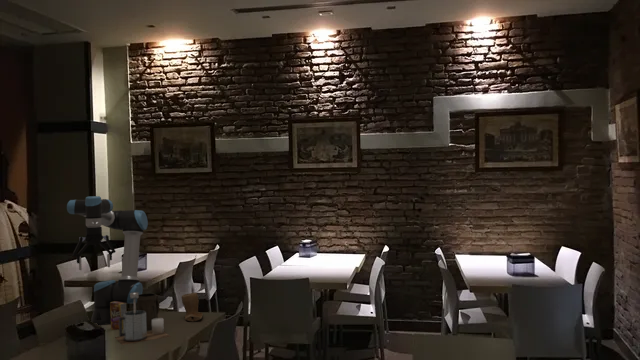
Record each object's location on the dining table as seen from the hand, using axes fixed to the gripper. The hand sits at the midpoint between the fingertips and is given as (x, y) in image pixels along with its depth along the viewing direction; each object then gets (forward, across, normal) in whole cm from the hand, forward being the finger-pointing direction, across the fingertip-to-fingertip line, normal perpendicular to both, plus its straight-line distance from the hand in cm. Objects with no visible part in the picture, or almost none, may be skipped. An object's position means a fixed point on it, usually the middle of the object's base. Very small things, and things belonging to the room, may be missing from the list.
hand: (94, 268), depth 283 cm
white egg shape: (+35, +28, -10) cm, 46 cm away
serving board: (+37, +20, -13) cm, 44 cm away
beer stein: (+37, +28, +4) cm, 46 cm away
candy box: (+37, +14, +13) cm, 42 cm away
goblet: (+32, +16, -14) cm, 39 cm away
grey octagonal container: (+35, +16, -14) cm, 41 cm away
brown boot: (+37, +55, +13) cm, 68 cm away
